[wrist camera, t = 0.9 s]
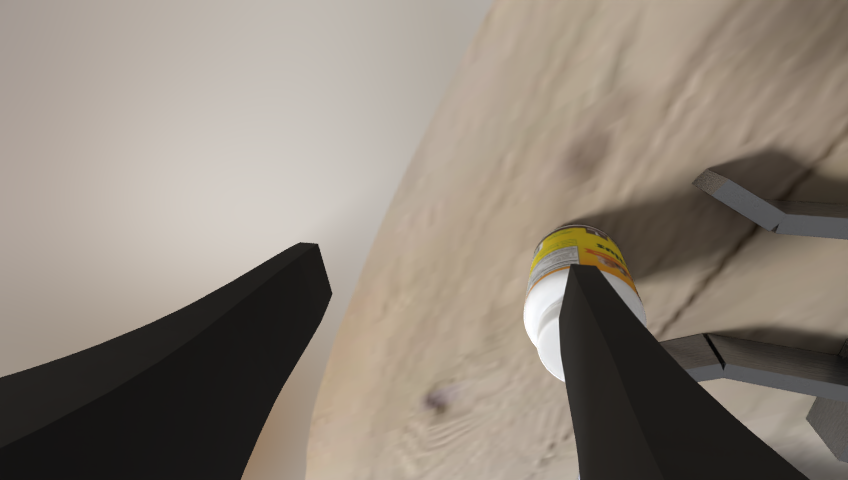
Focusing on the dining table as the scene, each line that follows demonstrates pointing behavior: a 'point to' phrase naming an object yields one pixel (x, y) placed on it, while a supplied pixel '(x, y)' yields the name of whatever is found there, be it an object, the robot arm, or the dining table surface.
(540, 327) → the supplement bottle
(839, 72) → the dining table surface
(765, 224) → the stop cradle
